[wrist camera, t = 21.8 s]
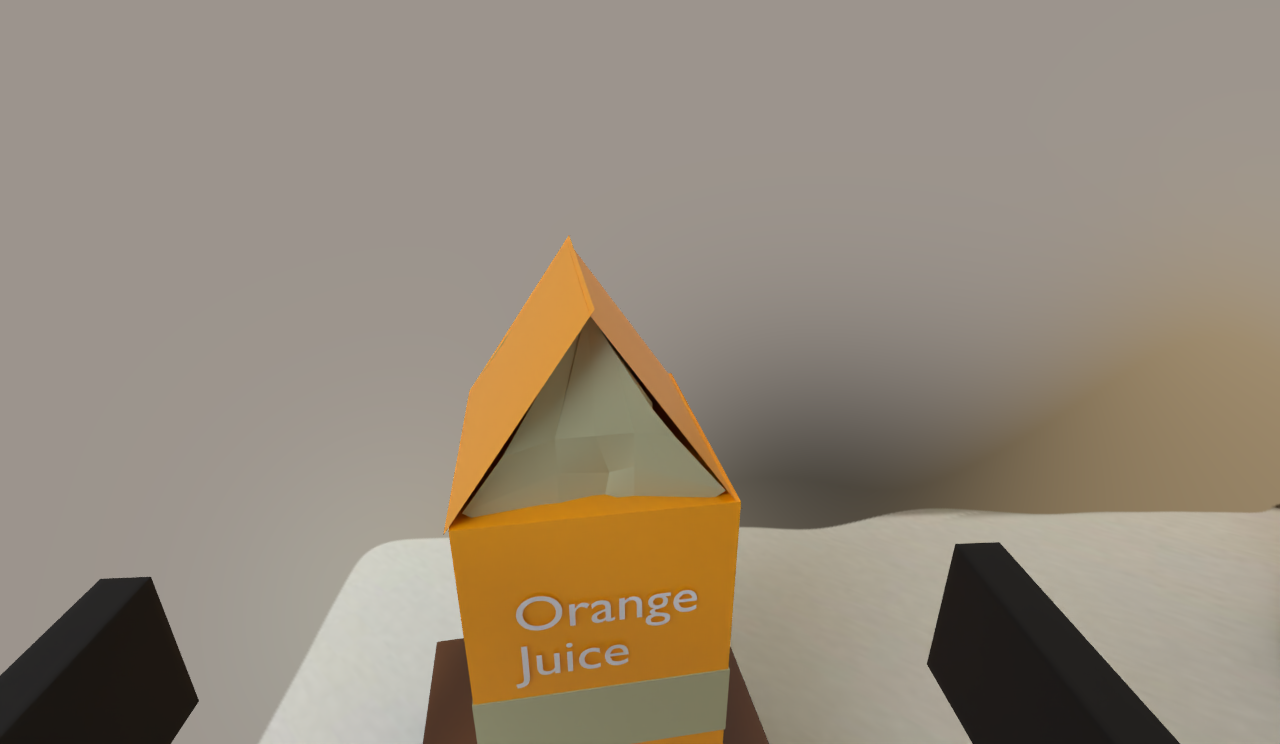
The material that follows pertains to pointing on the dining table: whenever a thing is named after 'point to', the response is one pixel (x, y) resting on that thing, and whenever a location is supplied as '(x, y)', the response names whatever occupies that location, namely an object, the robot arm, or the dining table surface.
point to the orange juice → (590, 534)
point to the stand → (452, 699)
